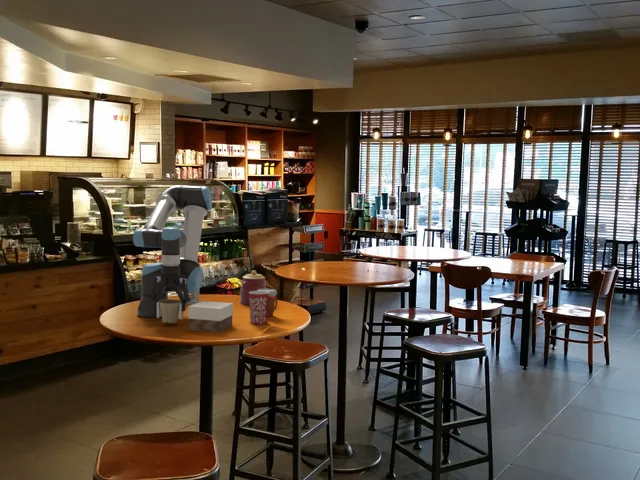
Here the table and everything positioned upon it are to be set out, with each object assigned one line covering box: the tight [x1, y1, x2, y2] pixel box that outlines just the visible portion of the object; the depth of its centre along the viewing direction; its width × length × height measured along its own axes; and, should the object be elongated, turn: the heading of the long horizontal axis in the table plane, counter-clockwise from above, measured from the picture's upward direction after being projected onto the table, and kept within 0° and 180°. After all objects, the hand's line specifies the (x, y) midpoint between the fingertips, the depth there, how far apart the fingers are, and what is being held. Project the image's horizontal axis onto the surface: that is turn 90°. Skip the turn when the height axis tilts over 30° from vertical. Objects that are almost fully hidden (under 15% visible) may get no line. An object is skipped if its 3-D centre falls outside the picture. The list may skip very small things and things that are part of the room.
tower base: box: [187, 315, 233, 333], centre depth 264 cm, size 14×14×5 cm
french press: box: [182, 289, 200, 305], centre depth 318 cm, size 10×12×25 cm
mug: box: [249, 291, 278, 325], centre depth 276 cm, size 13×9×14 cm
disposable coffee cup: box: [257, 288, 278, 318], centre depth 292 cm, size 10×10×12 cm
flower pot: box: [159, 298, 181, 324], centre depth 266 cm, size 9×9×9 cm
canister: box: [239, 269, 267, 306], centre depth 319 cm, size 13×13×18 cm
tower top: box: [187, 300, 234, 321], centre depth 264 cm, size 14×14×5 cm
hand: (170, 317), depth 266 cm, fingers closed on flower pot, 9 cm apart
